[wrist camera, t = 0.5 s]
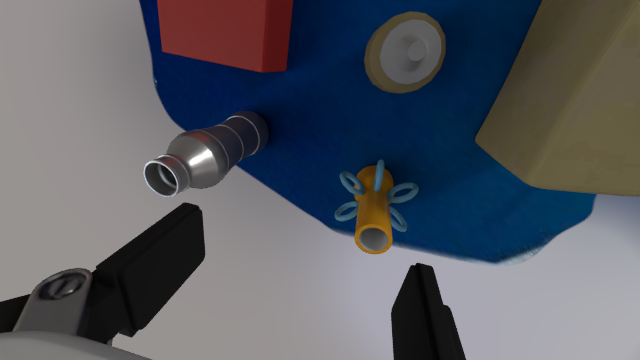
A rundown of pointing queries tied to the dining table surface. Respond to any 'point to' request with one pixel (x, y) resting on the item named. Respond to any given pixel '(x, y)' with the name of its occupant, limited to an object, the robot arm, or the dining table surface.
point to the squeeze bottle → (405, 53)
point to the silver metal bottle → (206, 154)
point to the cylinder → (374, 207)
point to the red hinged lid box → (278, 35)
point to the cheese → (573, 100)
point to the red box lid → (216, 31)
